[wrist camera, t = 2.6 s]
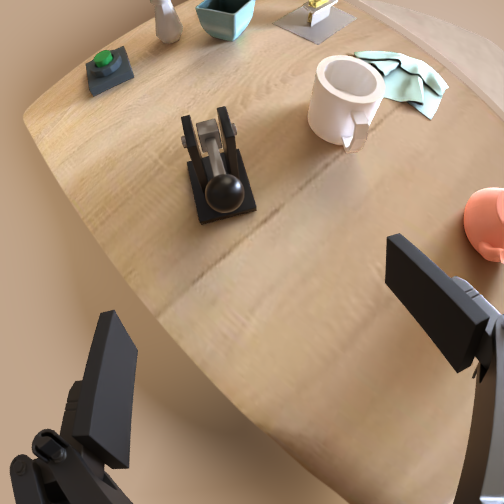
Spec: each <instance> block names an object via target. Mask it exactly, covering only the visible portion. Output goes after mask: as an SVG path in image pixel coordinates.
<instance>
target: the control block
mask: <svg viewBox="0 0 504 504" xmlns="http://www.w3.org/2000/svg"><path fill="white" fill-rule="evenodd" d="M110 53H111V55H112V57H113V60H112V61H111V62H110V63H109V64H108V65H106V66H104V67H97V66H96V64H95V62H94V59H93V60H92V61H90V62H88V63H86V70H87V77H88V84H89V90H90V92H91V93H92V95H93V97H94V96H96V95H98V94H100V93H102V92H104V91H106V90H108V89H110V88H112V87H114V86H116V85H118V84H120V83H123V82H125V81H127V80H129V79H131V78H134V74H133V71H132V68H131V65H130V62H129V59H128V56H127V53H126V50H125V48H124V46H122V47H120V48H118V49H115V50H110Z"/></svg>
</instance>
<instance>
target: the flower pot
mask: <svg viewBox="0 0 504 504" xmlns="http://www.w3.org/2000/svg"><path fill="white" fill-rule="evenodd" d="M254 4H255V0H204V1H203V2H202V3H200V4H199V5H198V6H196V8H195V9H196V12H197V15H198V18H199V21H200V23H201V25H202V27H203V29H204V30H205V31H206V32H207V33H208V34H209V35H211V36H212V37H215V38H219V39H224V40H228V41H234V40H235V39H236V38H237V37H238V36H239V35H240V34H241V33H242V32H243V31H244V30H245V28H246V27H247V26H248V24H249V22H250V20H251V18H252V15H253V10H254Z"/></svg>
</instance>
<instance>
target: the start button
mask: <svg viewBox="0 0 504 504" xmlns="http://www.w3.org/2000/svg"><path fill="white" fill-rule="evenodd" d="M112 60H113V57H112V55H111V53H110V51H109V50H104V51H101V52H99V53H98V54H97V55H96V56H95V57H94V62H95V64H96V66H97V67H104V66H106V65H108V64H109V63H110V62H111V61H112Z"/></svg>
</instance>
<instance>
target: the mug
mask: <svg viewBox="0 0 504 504" xmlns="http://www.w3.org/2000/svg"><path fill="white" fill-rule="evenodd" d="M385 86H386V85H385V82H384V80H383V77H382V76H381V75H380V73H379V72H378V71H377V70H376V69H375V68H374V67H372V66H371V65H370V64H368V63H366V62H364V61H363V60H361V59H358V58H354V57H351V56H344V55H337V56H330V57H328V58H325V59H323V60H322V61H321V62H320V63H319V64H318V67H317V70H316V75H315V80H314V85H313V90H312V95H311V100H310V105H309V110H308V114H307V117H308V123H309V125H310V127H311V129H312V131H313V132H314V133H315V134H316V135H317V136H318V137H320V138H322V139H323V140H325V141H327V142H329V143H333V144H336V145H343V146H344V149H345V152H346V153H355V152H358V151H360V150H361V149H363V147H364V144H365V142H366V140H367V136H368V128H369V125H370V123H371V121H372V119H373V117H374V114H375V112H376V110H377V108H378V106H379V104H380V102H381V100H382V98H383V95H384V93H385Z"/></svg>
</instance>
